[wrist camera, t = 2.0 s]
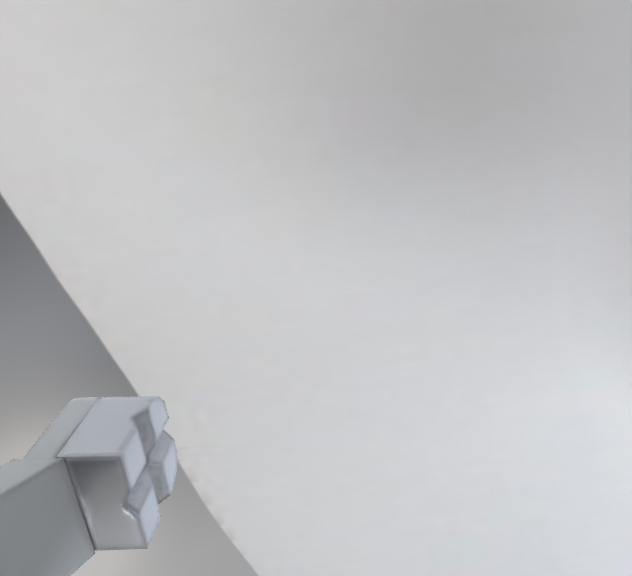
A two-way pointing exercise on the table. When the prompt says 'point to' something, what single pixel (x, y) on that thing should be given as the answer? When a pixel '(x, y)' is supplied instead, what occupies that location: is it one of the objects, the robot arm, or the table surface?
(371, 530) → the table surface
